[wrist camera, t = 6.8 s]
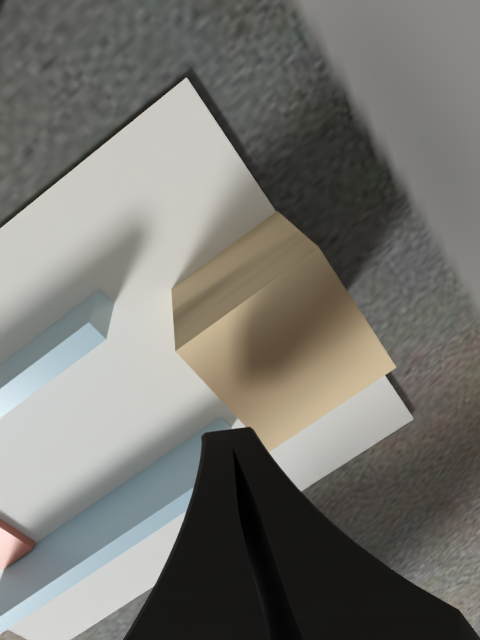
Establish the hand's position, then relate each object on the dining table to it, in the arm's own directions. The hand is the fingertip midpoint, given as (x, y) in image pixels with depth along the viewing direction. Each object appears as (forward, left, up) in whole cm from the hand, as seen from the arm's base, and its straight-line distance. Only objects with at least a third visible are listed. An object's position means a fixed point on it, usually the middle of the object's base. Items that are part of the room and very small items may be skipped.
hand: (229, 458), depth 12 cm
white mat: (-1, +7, -7) cm, 10 cm away
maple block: (0, -3, -7) cm, 8 cm away
